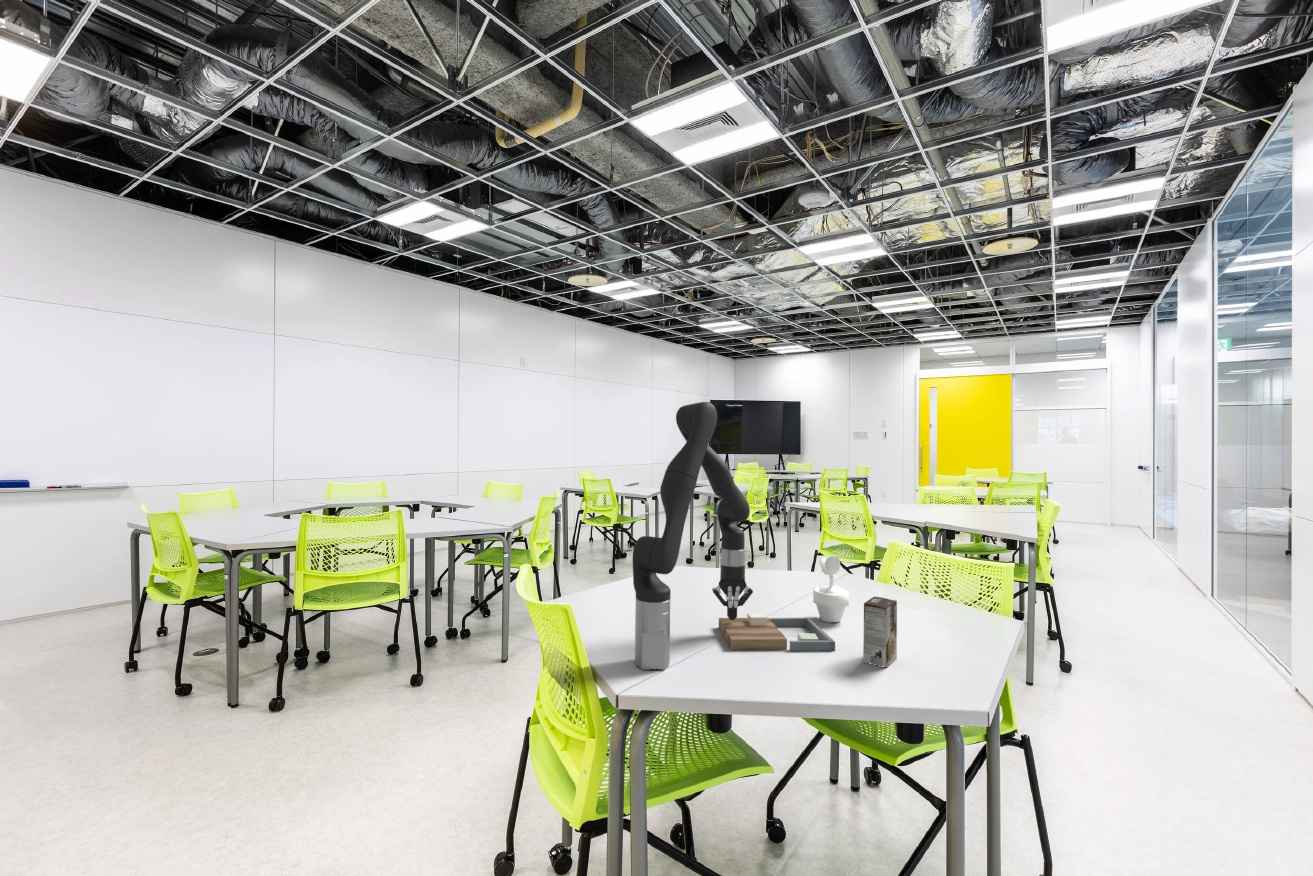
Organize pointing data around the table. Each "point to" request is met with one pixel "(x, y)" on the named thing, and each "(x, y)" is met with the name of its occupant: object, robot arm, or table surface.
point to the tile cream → (757, 619)
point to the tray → (824, 640)
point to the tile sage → (807, 637)
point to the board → (751, 635)
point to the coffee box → (880, 631)
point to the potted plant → (831, 592)
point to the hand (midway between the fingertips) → (732, 619)
